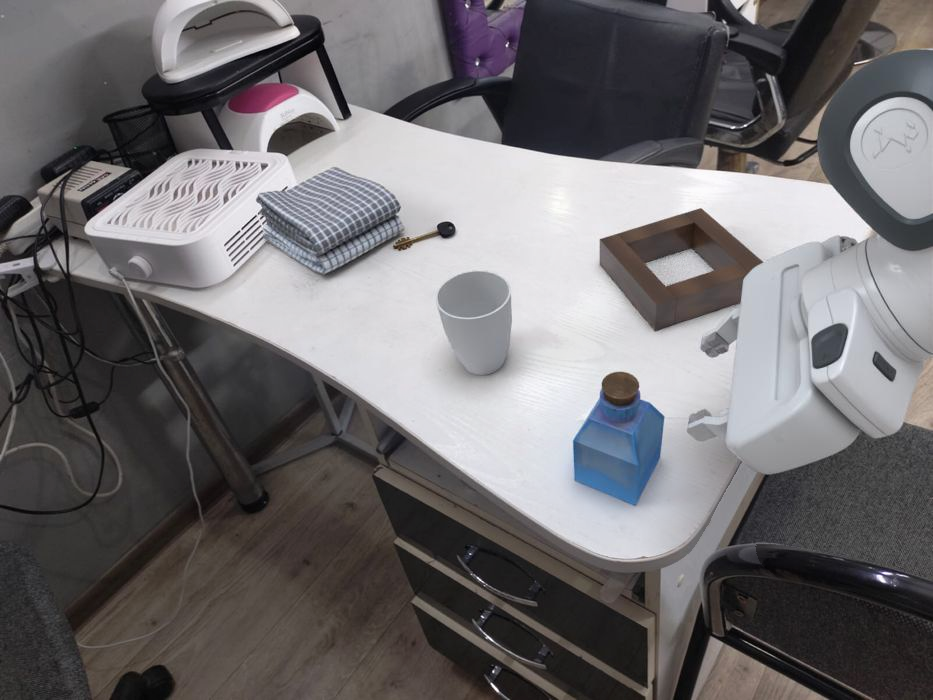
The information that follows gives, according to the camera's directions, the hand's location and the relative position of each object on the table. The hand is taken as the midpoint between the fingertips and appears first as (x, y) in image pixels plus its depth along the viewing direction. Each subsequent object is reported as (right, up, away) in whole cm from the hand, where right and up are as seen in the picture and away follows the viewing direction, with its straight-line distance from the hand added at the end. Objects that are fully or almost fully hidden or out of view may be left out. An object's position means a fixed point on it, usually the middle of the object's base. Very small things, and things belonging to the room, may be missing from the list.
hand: (699, 386), depth 57 cm
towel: (-39, +20, +46) cm, 64 cm away
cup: (-17, +2, +23) cm, 29 cm away
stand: (+7, +12, +28) cm, 32 cm away
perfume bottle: (-5, -9, +9) cm, 14 cm away
